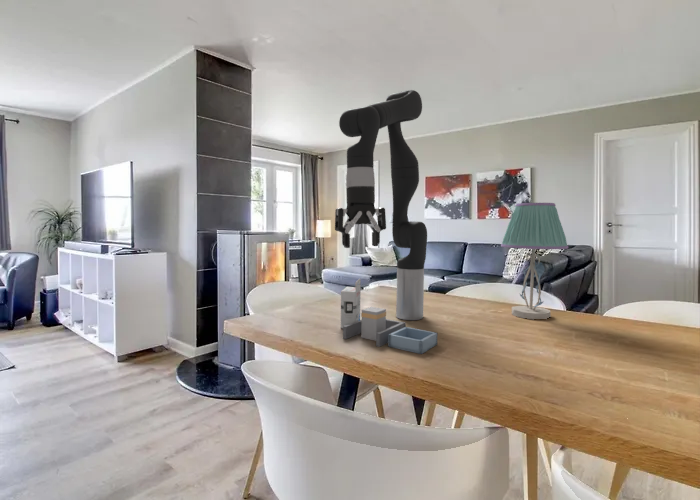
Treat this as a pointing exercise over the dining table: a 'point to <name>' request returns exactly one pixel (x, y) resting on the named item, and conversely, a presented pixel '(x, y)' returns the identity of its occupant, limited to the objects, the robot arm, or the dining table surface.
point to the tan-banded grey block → (372, 322)
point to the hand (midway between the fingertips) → (361, 246)
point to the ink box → (350, 304)
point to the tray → (412, 340)
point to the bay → (380, 336)
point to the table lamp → (534, 246)
